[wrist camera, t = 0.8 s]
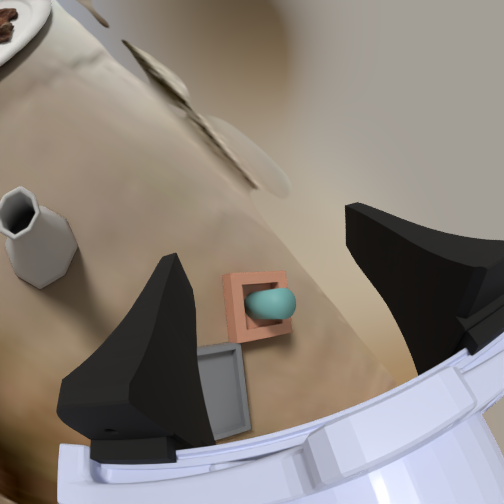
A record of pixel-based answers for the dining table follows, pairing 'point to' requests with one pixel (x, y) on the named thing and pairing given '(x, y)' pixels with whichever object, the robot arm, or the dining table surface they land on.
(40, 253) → the flask
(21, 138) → the dining table surface
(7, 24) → the plated food
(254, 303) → the pin
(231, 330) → the salmon square dish
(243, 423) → the tray
